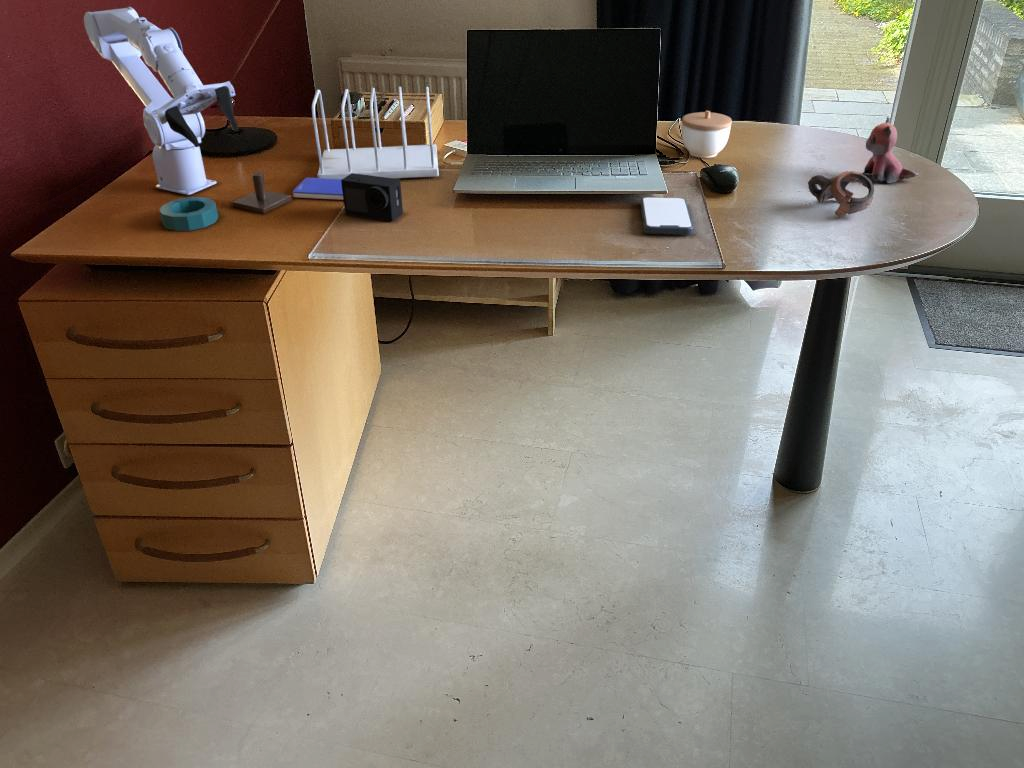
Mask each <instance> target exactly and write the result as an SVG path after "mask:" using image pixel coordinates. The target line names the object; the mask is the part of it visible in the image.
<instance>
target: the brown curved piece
mask: <svg viewBox="0 0 1024 768" xmlns="http://www.w3.org/2000/svg"><path fill="white" fill-rule="evenodd" d="M857 181H860V182H861V183H862V186H863V187H865V188H867V189H868V193H867V195H866V196H865V195H864V196H863V197H853V196H854V195H855V194H854V192H853V191H850V190H849V189H847V186H848V185H850V183H854V182H857ZM807 186H808V190H809V192H810V194H811V195H812V196H813V197H815V199H816V201H817V203H818V204H822V203H823V204H824V203H825V202H826V201H828V200H831V199H834V200H835V201H836V202H837V203H838V204H839V205H838V208H837V209H836V210H835V211H834V215H835V216H837V217H839V218H840V219H842V218H844V217H846V216H847V214H848V215H852V214H856V213H859V212H862V211H864V210H867V208H868V207H869V206H870V205H871V204H872V202H873V200H874V193H875V186H874V183H873V182H872V181H871V179H870V178H869V177H868V176H866V174H864V175H863V173H860V172H858V171H853V170H846V171H843V172H841V173H839V174H838V175H835V176H834V177H831V178H830V177H827V176H825V175H823V174H817V175H814V176H812V177H811V178H810V179H809V180H808V182H807ZM818 186H819V187H820V188H818Z"/></svg>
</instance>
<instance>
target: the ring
mask: <svg viewBox="0 0 1024 768" xmlns="http://www.w3.org/2000/svg"><path fill="white" fill-rule="evenodd" d="M158 211H159V215H160V219H161V223H162V225H163V227H164V228H165V229H167V230H171V231H175V232H191V231H195V230H199V229H204V228H207V227H209V226H211V225H213V224H215V223H216V222H217V221H218V219H219V214H218V208H217V204H216V202H215V201H214V200H213V199H212V198H208V197H204V196H188V197H182V198H177V199H173V200H171V201H168V202H166V203H164V204H163V205H162V206H161V207H160V208H159V209H158Z"/></svg>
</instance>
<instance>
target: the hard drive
mask: <svg viewBox="0 0 1024 768" xmlns="http://www.w3.org/2000/svg"><path fill="white" fill-rule="evenodd" d="M341 180H342V179H324V178H318V177H305V178H304V179H303V180H302V182H300V183H299V184H298V185H297V186H296V187H295V188H294V189H293V191H292V196H293V198H297V199H298V198H299V199H300V198H301V199H317V200H318V199H319V200H338V201H339V200H341V201H344V200H343V192H342V184H341Z"/></svg>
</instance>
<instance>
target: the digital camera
mask: <svg viewBox="0 0 1024 768" xmlns="http://www.w3.org/2000/svg"><path fill="white" fill-rule="evenodd" d="M401 183H402V182H401V178H386V177H378V176H371V175H363V174H355V173H351V174H350V175H348V176H347V177H345V178H343V179H342V180H341V184H342V192H343V200H342V201H343V207H344V214H345V215H346V216H352V217H359V218H365V219H371V220H377V221H385V222H394V221H396V220H397V219H398V218H399V217H401V216H402V215H403V214H404V209H403V197H402V185H401Z"/></svg>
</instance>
